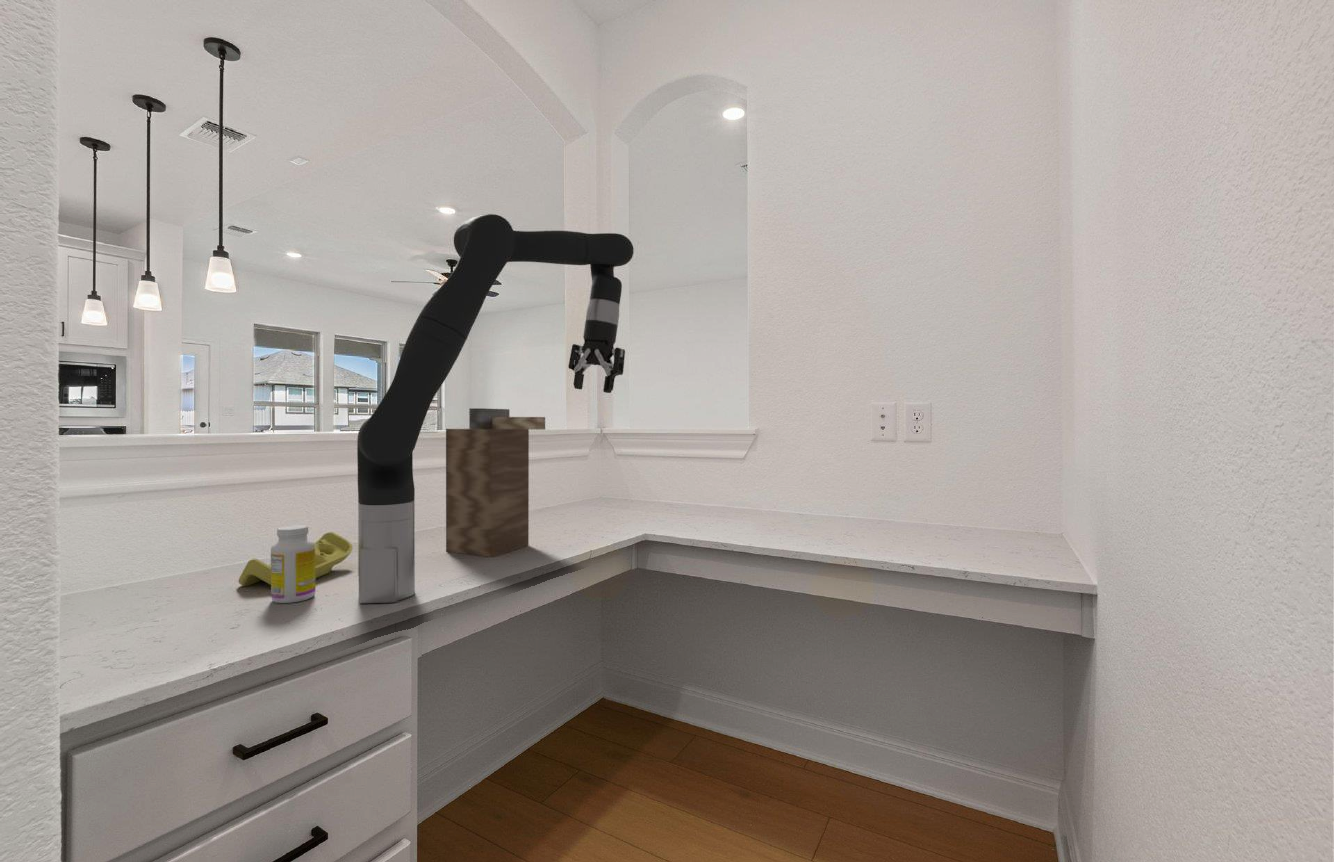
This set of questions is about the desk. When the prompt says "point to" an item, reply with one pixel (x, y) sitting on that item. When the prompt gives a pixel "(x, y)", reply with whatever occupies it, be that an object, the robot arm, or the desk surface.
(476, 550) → the pedestal
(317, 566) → the plastic component
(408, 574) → the robot arm
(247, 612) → the desk surface
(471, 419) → the hammer
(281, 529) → the supplement bottle
